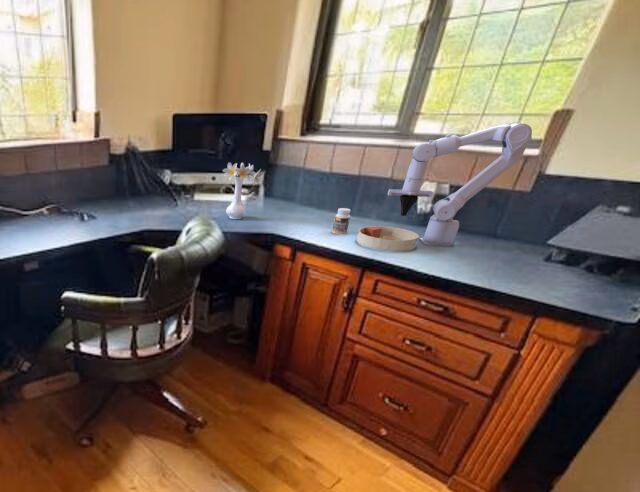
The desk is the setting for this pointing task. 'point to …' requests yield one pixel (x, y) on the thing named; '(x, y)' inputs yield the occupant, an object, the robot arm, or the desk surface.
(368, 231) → the terracotta block
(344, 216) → the pill bottle
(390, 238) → the beech block
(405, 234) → the bowl
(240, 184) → the flower vase
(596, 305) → the desk surface
